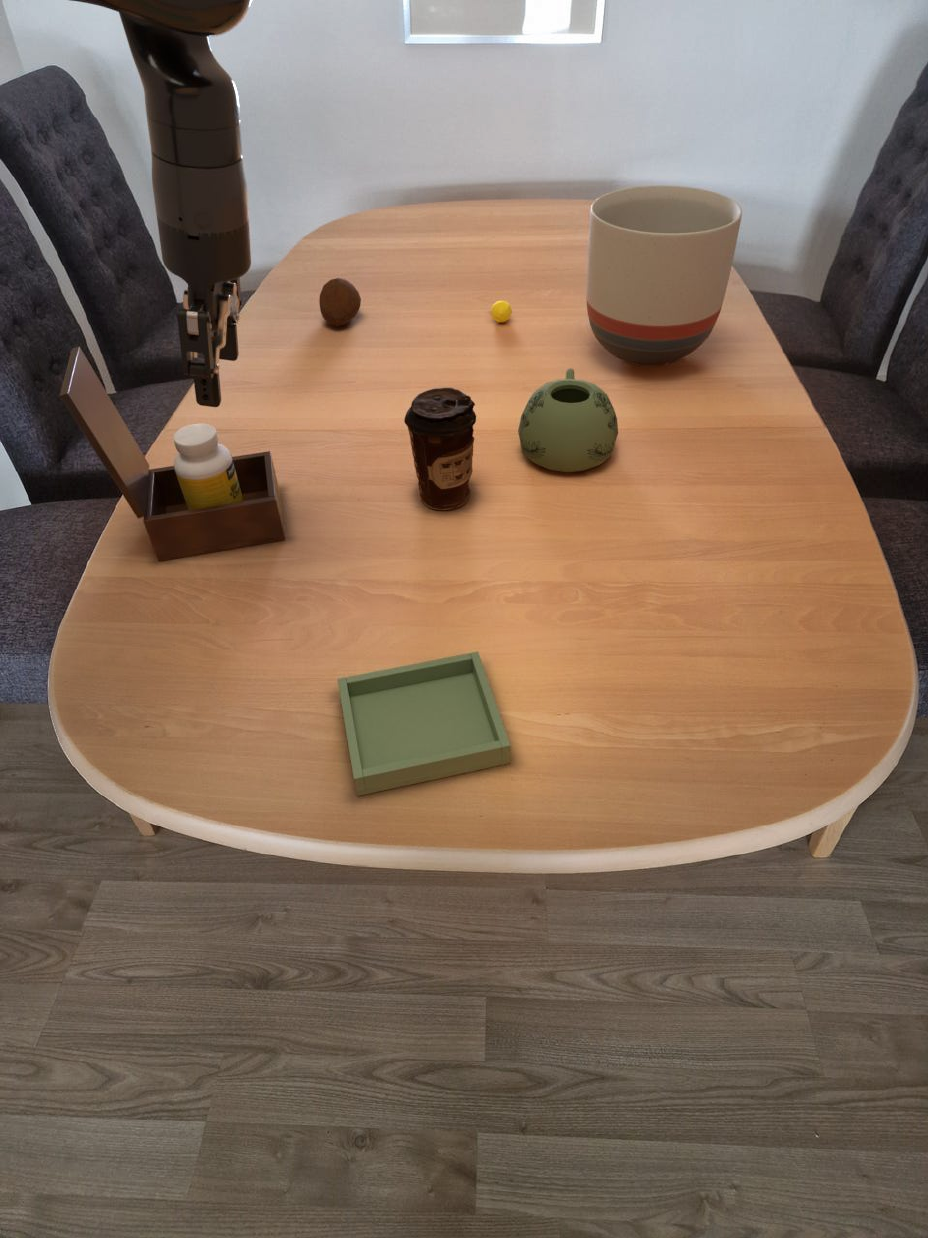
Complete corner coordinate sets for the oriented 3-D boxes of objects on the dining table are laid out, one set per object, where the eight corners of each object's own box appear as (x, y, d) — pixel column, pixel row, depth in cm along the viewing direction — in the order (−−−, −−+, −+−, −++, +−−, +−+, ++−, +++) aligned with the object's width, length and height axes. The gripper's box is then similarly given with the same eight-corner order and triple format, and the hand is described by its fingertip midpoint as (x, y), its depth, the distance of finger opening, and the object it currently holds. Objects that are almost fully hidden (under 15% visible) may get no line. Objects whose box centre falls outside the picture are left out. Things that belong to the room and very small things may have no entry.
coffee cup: (495, 494, 100) (494, 399, 91) (448, 526, 96) (443, 429, 87) (444, 469, 105) (439, 376, 96) (398, 498, 100) (387, 403, 91)
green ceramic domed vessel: (617, 480, 101) (625, 419, 95) (515, 477, 103) (515, 416, 97) (613, 415, 113) (620, 357, 107) (521, 413, 114) (522, 355, 108)
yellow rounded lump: (495, 327, 134) (488, 305, 133) (493, 322, 140) (487, 301, 138) (515, 319, 134) (508, 298, 132) (512, 314, 139) (505, 294, 138)
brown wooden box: (279, 490, 103) (270, 450, 98) (285, 540, 95) (275, 499, 91) (161, 508, 100) (147, 469, 96) (158, 561, 93) (142, 521, 89)
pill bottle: (241, 534, 95) (216, 449, 87) (186, 535, 95) (157, 450, 87) (252, 502, 99) (230, 418, 91) (200, 503, 100) (173, 419, 92)
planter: (696, 324, 133) (720, 181, 118) (729, 384, 118) (761, 230, 103) (572, 330, 133) (581, 188, 118) (590, 390, 118) (602, 237, 103)
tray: (357, 796, 69) (353, 778, 67) (341, 696, 77) (337, 678, 75) (510, 763, 71) (510, 745, 69) (478, 669, 79) (478, 651, 77)
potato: (362, 305, 143) (357, 264, 138) (364, 330, 135) (358, 288, 131) (322, 308, 142) (316, 267, 138) (322, 333, 135) (315, 292, 130)
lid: (79, 345, 85) (71, 348, 85) (67, 393, 78) (59, 395, 78) (149, 464, 96) (142, 467, 96) (145, 516, 89) (137, 518, 89)
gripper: (177, 173, 73) (196, 340, 84) (133, 238, 63) (161, 416, 75) (262, 186, 73) (269, 349, 85) (231, 252, 64) (243, 426, 75)
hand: (218, 380), depth 80 cm, fingers open, 8 cm apart
